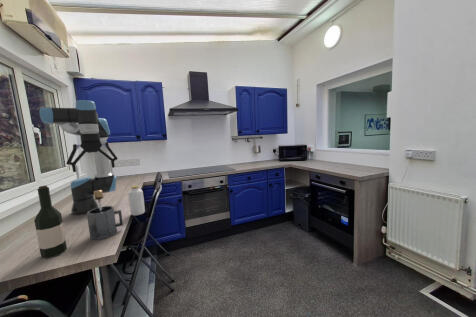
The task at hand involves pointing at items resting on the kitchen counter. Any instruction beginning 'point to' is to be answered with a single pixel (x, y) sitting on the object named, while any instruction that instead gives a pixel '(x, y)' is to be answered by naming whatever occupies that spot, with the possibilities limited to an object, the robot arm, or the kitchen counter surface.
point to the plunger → (98, 198)
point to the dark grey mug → (103, 222)
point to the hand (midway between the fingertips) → (95, 176)
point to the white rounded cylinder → (136, 201)
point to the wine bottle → (49, 227)
